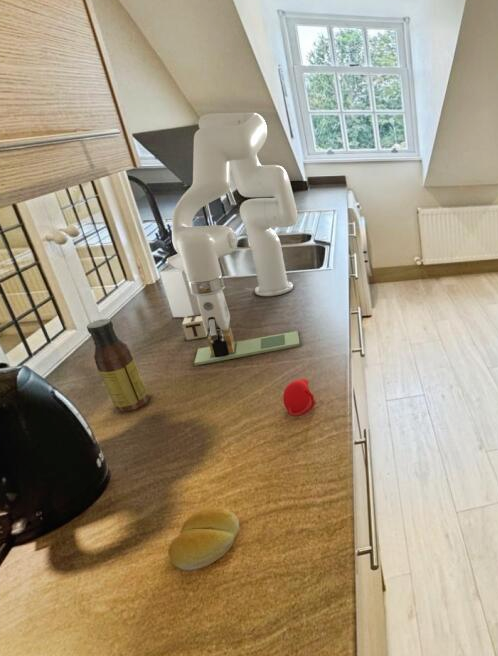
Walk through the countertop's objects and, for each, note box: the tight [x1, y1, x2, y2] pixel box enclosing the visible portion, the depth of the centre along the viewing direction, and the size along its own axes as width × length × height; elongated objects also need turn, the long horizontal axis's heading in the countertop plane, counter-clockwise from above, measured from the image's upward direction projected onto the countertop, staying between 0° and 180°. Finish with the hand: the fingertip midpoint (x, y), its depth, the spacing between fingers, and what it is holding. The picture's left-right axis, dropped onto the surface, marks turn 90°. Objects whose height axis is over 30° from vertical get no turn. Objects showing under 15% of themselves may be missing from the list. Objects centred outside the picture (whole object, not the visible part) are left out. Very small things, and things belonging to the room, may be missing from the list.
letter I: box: [207, 326, 236, 357], centre depth 116 cm, size 5×5×5 cm
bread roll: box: [167, 506, 240, 571], centre depth 64 cm, size 8×9×4 cm
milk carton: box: [159, 253, 201, 318], centre depth 138 cm, size 7×7×19 cm
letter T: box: [181, 314, 209, 341], centre depth 127 cm, size 5×5×5 cm
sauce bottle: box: [86, 318, 150, 412], centre depth 93 cm, size 7×6×20 cm
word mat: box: [193, 330, 300, 366], centre depth 119 cm, size 8×25×1 cm, turn 110°
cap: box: [282, 378, 317, 417], centre depth 93 cm, size 8×6×6 cm
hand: (223, 348), depth 117 cm, fingers open, 6 cm apart
